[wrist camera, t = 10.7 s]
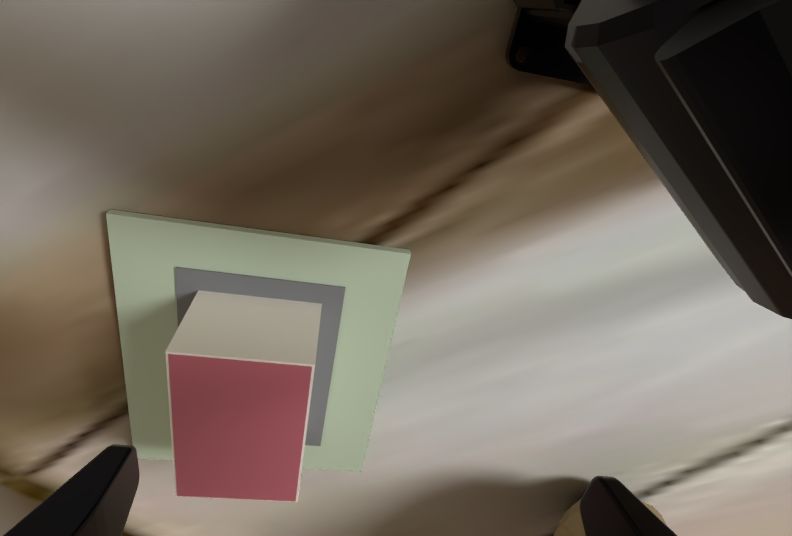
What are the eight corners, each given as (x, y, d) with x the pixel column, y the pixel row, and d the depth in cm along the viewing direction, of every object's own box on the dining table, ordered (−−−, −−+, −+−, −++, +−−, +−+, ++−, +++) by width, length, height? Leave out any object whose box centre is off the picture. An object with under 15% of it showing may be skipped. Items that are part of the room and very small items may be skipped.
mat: (409, 249, 20) (411, 255, 20) (361, 466, 27) (361, 473, 27) (110, 209, 19) (104, 214, 18) (136, 451, 25) (133, 459, 25)
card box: (305, 431, 25) (297, 502, 21) (201, 423, 24) (174, 497, 20) (322, 303, 21) (314, 365, 17) (198, 290, 20) (164, 352, 17)
